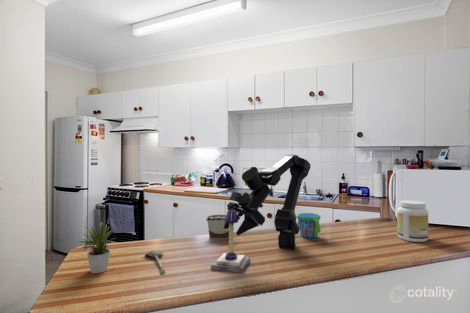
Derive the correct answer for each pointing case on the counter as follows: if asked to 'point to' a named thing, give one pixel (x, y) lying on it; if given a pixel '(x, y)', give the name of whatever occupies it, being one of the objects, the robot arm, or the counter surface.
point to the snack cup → (309, 224)
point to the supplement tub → (412, 221)
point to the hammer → (155, 254)
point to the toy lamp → (231, 233)
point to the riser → (230, 263)
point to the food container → (217, 227)
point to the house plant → (97, 249)
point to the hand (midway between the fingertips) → (230, 231)
